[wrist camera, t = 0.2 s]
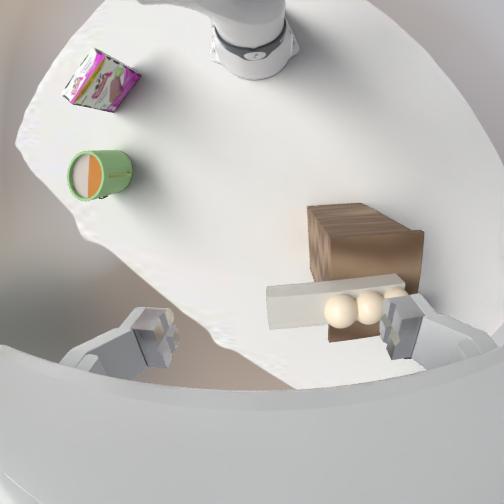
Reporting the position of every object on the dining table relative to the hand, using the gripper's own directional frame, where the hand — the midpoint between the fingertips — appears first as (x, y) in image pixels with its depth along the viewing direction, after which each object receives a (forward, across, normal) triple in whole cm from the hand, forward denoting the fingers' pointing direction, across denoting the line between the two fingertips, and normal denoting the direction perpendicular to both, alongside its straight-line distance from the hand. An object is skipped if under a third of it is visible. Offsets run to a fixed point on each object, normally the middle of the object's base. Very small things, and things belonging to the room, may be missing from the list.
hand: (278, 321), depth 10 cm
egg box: (+22, -7, +12) cm, 25 cm away
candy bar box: (+48, +33, -27) cm, 64 cm away
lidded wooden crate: (+48, -12, +12) cm, 51 cm away
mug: (+47, +35, -7) cm, 59 cm away
